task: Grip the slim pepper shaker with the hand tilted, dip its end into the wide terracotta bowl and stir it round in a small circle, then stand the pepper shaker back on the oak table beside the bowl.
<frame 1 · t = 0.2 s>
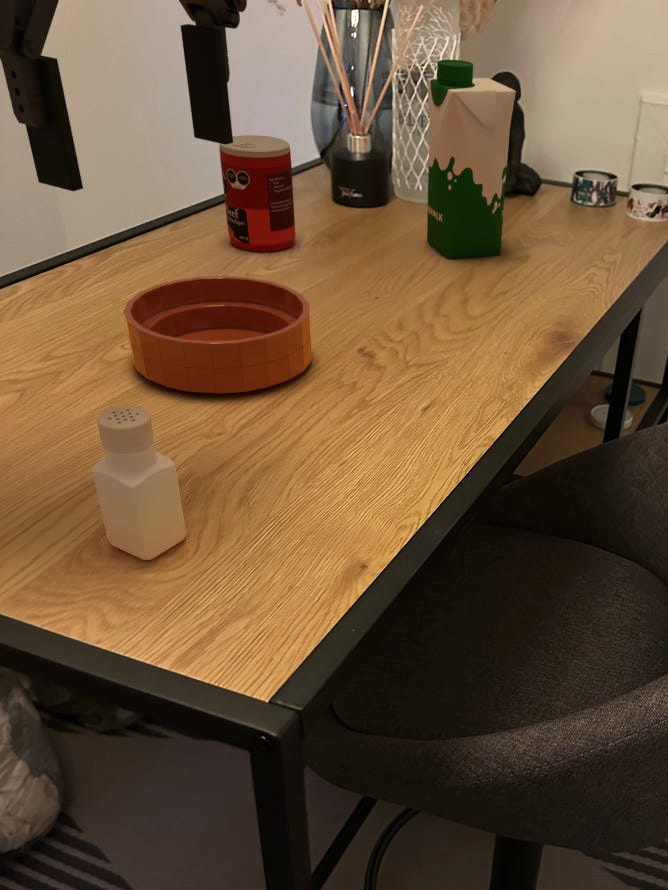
hand: (143, 161, 59), 22 cm above the table, tool pointing down, fingers open, 13 cm apart
milk carton: (463, 249, 117), on the table
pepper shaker: (149, 545, 65), on the table
canned food: (262, 244, 114), on the table
bowl: (224, 360, 88), on the table
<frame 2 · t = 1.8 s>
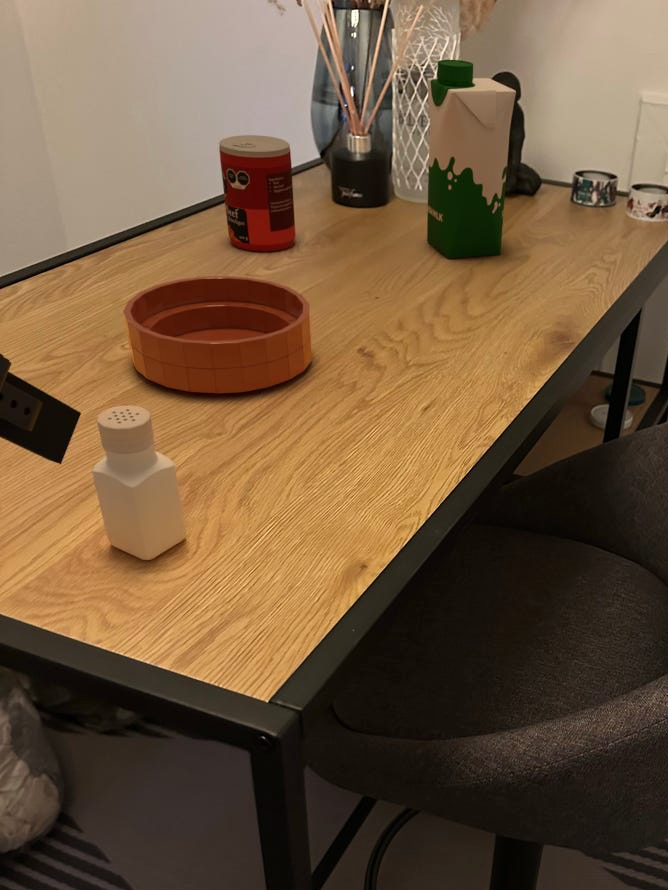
nothing on the table moved.
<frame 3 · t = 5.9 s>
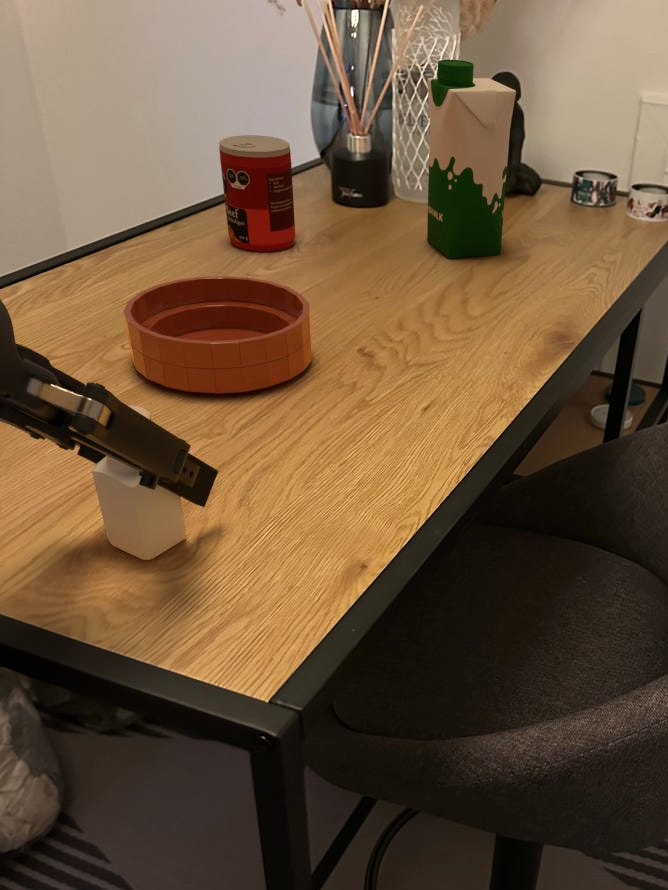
hand: (177, 477, 65), 3 cm above the table, tool tilted 45°, fingers closed on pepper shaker, 4 cm apart
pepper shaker: (149, 545, 65), on the table, touching gripper
everything else where it was.
when the fingers open (3 cm above the table, at t = 27.3 s): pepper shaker stays where it is, on the table.
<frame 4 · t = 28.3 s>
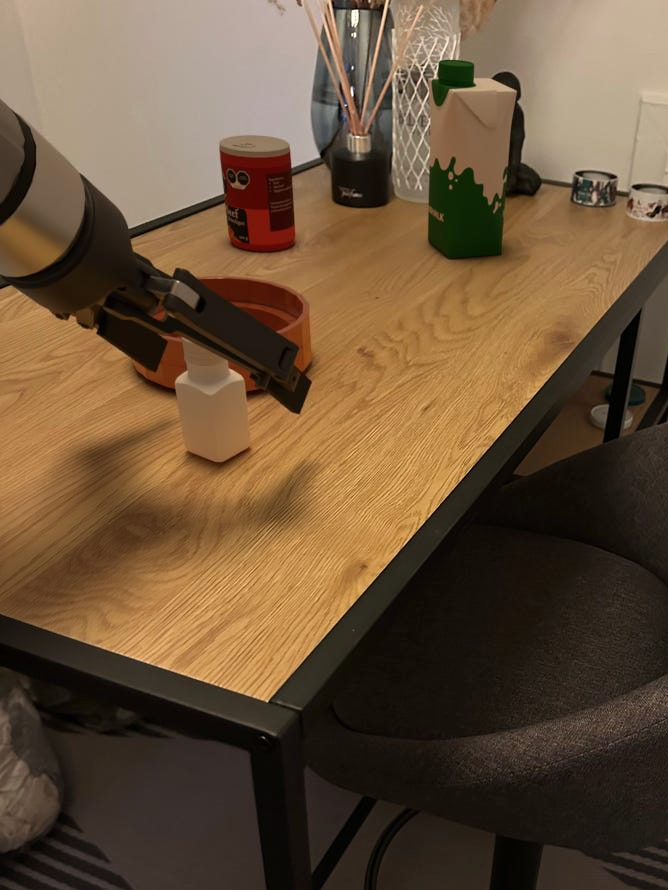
hand: (228, 376, 73), 5 cm above the table, tool tilted 45°, fingers open, 13 cm apart
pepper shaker: (218, 451, 75), on the table
everything else where it was.
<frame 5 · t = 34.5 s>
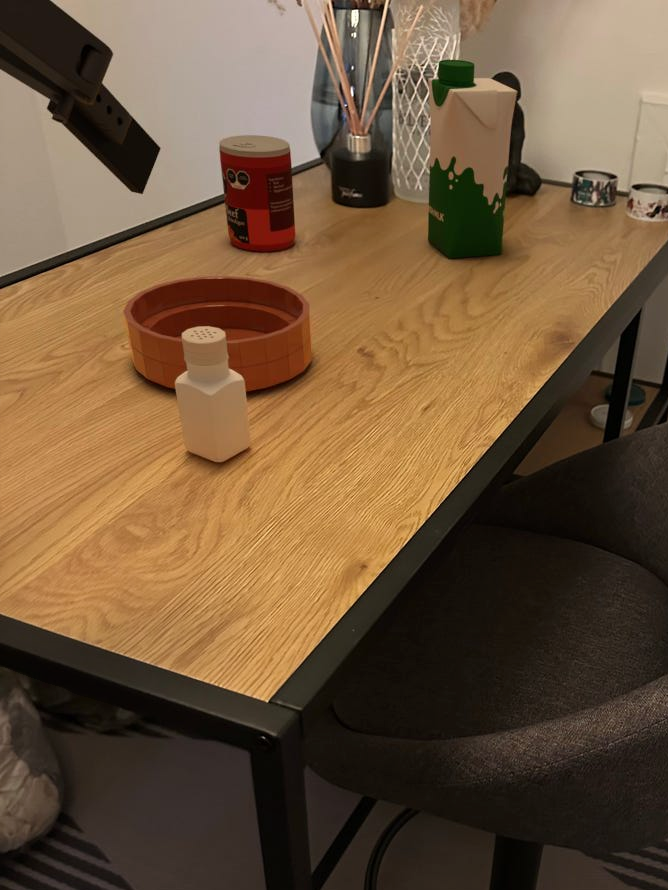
hand: (49, 149, 52), 24 cm above the table, tool tilted 45°, fingers open, 13 cm apart
nothing on the table moved.
at the end: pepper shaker inside the target area on the table beside the bowl (0.7 cm from its centre), on the table; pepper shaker tilted 0°; the gripper is holding nothing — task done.
